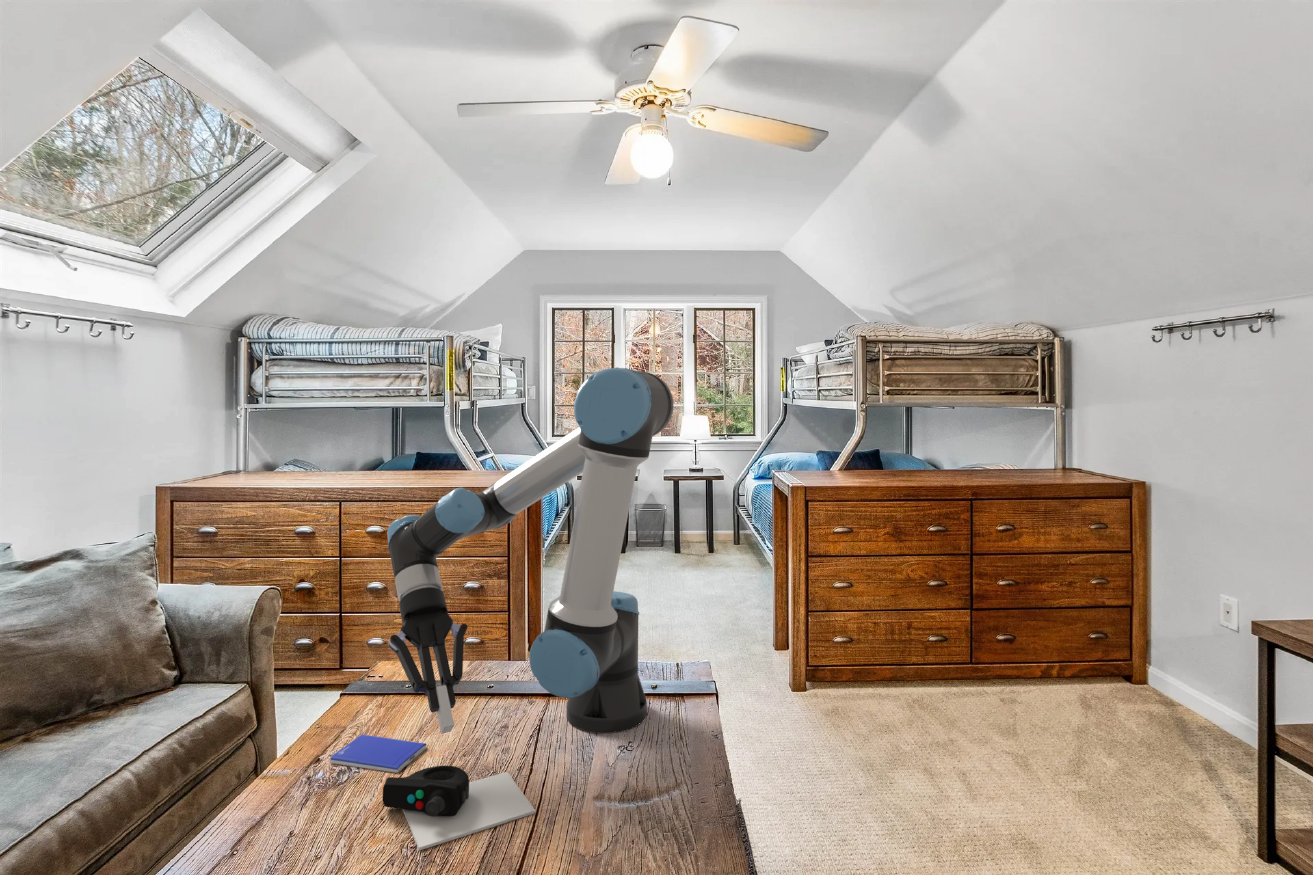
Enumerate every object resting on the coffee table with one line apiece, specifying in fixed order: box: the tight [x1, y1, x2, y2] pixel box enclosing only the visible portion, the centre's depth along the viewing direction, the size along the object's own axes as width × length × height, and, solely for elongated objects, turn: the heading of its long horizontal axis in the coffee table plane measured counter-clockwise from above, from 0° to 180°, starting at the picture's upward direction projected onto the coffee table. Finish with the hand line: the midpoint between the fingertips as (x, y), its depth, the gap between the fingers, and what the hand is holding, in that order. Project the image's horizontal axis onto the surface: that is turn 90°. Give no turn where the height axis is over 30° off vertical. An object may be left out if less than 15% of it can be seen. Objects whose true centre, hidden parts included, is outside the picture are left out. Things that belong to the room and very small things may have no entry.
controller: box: [382, 765, 470, 817], centre depth 98 cm, size 4×12×10 cm
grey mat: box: [401, 771, 536, 851], centre depth 98 cm, size 16×12×1 cm
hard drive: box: [329, 734, 427, 773], centre depth 113 cm, size 2×8×12 cm
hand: (447, 729), depth 106 cm, fingers closed
